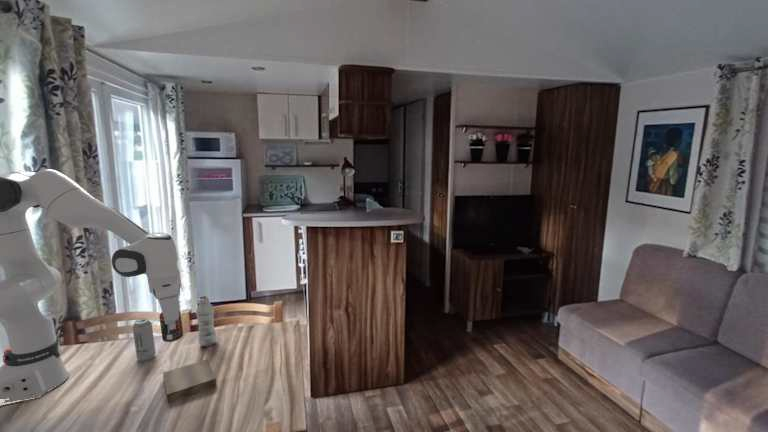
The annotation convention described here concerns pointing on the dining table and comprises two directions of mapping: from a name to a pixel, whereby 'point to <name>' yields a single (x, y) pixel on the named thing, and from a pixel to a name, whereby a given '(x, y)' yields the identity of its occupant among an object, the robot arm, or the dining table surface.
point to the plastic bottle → (206, 322)
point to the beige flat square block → (188, 380)
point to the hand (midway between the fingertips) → (171, 324)
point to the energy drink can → (144, 339)
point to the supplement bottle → (171, 334)
